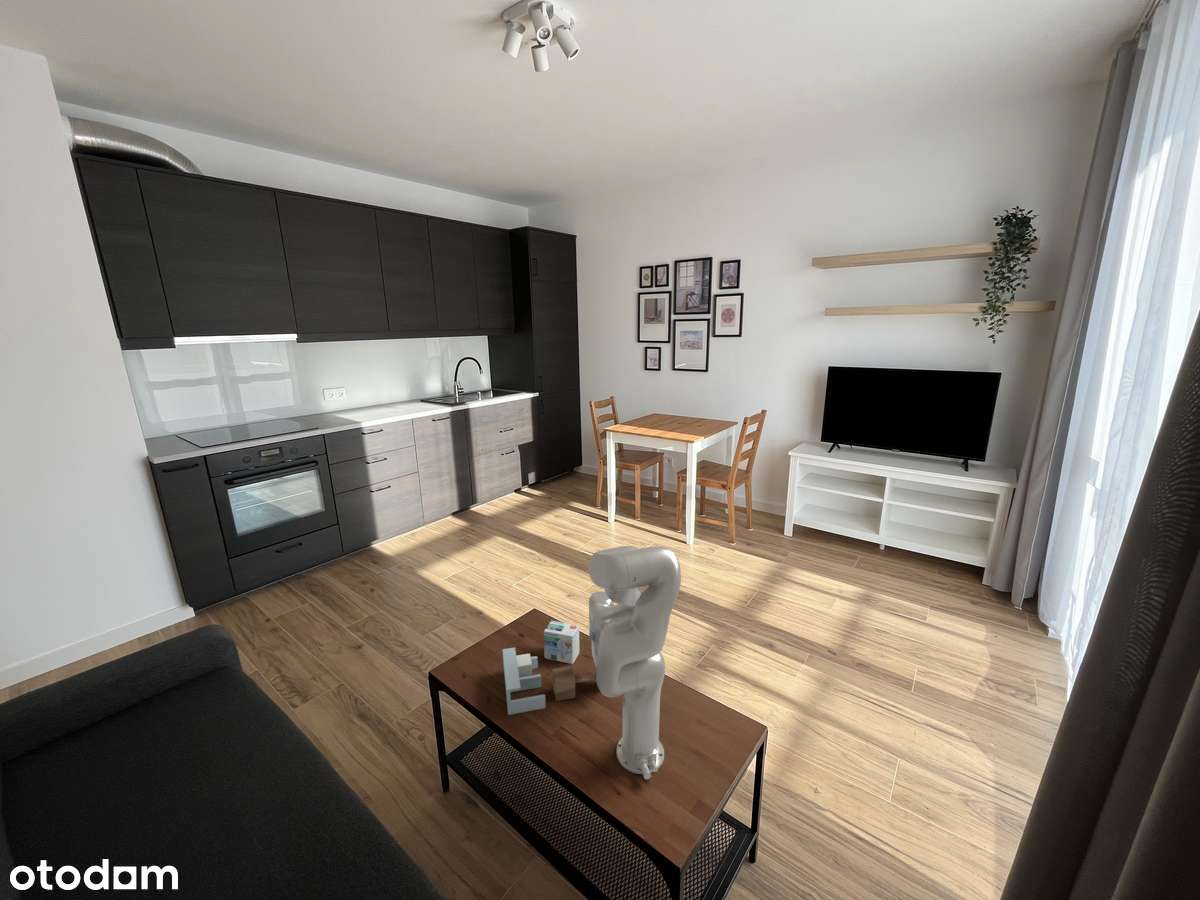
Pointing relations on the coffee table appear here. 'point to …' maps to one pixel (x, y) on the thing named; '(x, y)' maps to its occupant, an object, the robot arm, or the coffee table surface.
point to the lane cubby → (520, 684)
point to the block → (524, 665)
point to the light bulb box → (561, 642)
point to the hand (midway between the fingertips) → (601, 682)
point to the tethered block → (566, 683)
